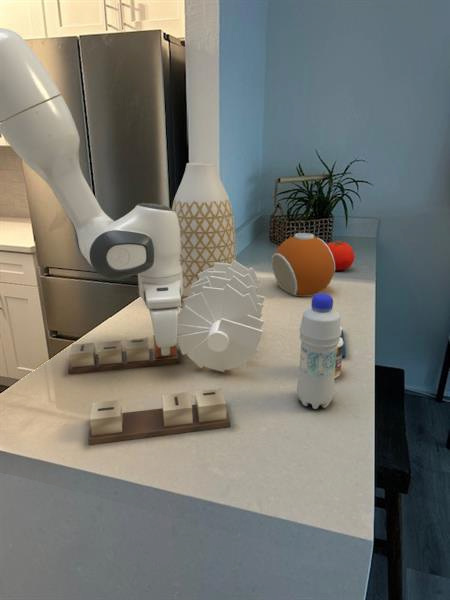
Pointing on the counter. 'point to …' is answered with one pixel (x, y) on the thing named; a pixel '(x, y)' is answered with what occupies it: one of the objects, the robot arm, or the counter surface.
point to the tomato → (341, 254)
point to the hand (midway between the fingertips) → (164, 347)
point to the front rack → (158, 417)
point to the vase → (203, 222)
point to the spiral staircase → (221, 318)
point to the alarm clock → (303, 265)
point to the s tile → (158, 350)
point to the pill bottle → (338, 357)
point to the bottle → (318, 352)
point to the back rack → (115, 356)
